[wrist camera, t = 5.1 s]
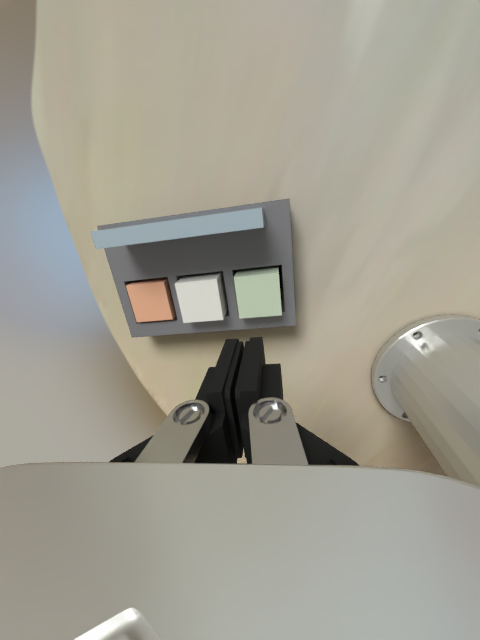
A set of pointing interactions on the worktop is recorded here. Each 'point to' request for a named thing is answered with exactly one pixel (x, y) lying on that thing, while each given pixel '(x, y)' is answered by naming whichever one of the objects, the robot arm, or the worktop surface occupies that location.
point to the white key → (202, 297)
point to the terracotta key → (151, 299)
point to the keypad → (202, 259)
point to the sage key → (258, 292)
